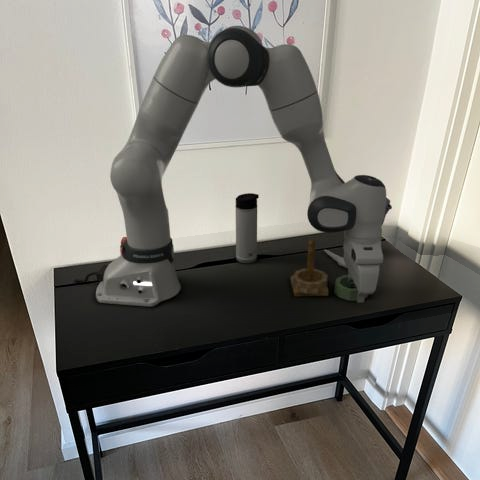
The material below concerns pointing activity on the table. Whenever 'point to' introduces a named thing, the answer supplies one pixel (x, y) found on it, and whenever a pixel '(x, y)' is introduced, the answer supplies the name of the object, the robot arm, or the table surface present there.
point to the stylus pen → (337, 258)
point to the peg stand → (309, 272)
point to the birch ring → (310, 286)
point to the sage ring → (345, 289)
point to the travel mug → (246, 227)
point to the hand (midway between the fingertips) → (355, 292)
